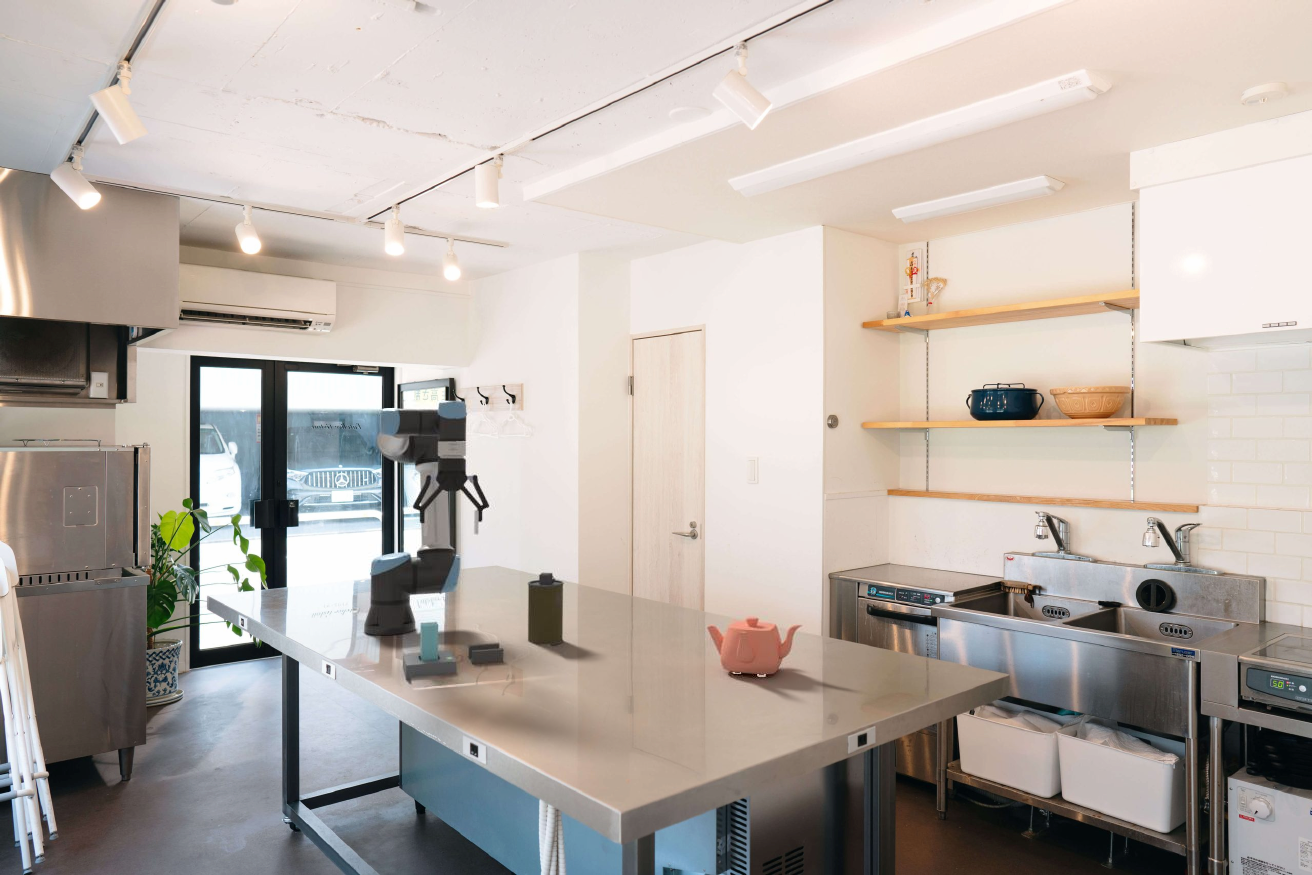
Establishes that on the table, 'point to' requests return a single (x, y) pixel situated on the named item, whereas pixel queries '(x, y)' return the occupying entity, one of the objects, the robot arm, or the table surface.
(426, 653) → the plug
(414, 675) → the port
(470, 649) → the holster
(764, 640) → the teapot
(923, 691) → the table surface
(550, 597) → the canister
